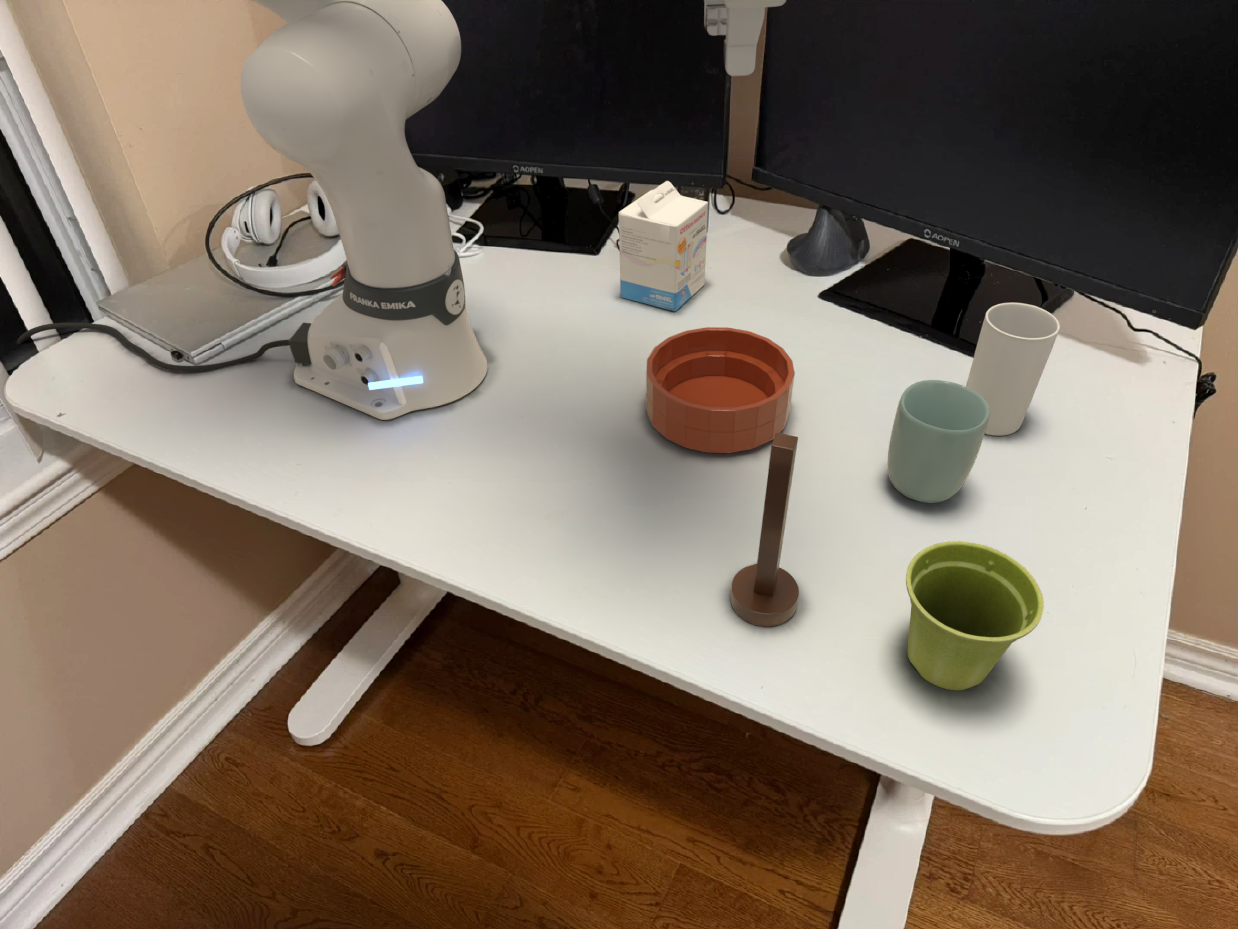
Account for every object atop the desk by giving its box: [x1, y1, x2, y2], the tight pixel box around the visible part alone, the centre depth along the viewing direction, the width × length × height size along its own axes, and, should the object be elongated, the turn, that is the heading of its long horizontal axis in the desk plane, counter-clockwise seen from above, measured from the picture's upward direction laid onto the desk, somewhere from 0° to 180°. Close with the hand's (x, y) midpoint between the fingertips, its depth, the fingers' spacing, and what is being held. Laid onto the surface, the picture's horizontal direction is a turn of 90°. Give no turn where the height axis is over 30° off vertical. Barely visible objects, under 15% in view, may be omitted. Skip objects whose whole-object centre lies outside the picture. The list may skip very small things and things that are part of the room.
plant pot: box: [905, 540, 1045, 691], centre depth 64 cm, size 9×9×9 cm
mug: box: [965, 302, 1061, 437], centre depth 87 cm, size 10×7×12 cm, turn 145°
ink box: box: [618, 180, 709, 312], centre depth 107 cm, size 9×8×13 cm
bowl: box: [645, 326, 796, 454], centre depth 90 cm, size 15×15×6 cm
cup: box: [886, 379, 990, 504], centre depth 79 cm, size 8×8×10 cm
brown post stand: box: [729, 432, 800, 627], centre depth 66 cm, size 6×6×18 cm
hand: (727, 51), depth 57 cm, fingers open, 8 cm apart
